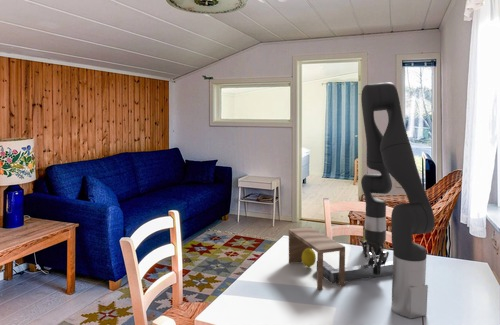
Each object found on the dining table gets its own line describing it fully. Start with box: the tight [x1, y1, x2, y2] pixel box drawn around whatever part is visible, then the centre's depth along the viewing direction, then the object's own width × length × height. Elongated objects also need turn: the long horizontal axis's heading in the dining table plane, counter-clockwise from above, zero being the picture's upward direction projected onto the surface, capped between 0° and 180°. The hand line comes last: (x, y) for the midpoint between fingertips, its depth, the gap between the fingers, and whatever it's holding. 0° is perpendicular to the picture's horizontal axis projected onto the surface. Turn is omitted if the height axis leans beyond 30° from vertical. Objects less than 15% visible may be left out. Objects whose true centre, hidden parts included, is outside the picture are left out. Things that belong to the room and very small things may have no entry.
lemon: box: [301, 248, 317, 268], centre depth 148 cm, size 6×6×8 cm
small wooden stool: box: [288, 226, 346, 291], centre depth 141 cm, size 26×10×14 cm, turn 18°
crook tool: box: [323, 259, 393, 284], centre depth 143 cm, size 12×29×4 cm, turn 107°
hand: (374, 272), depth 139 cm, fingers closed on crook tool, 3 cm apart
